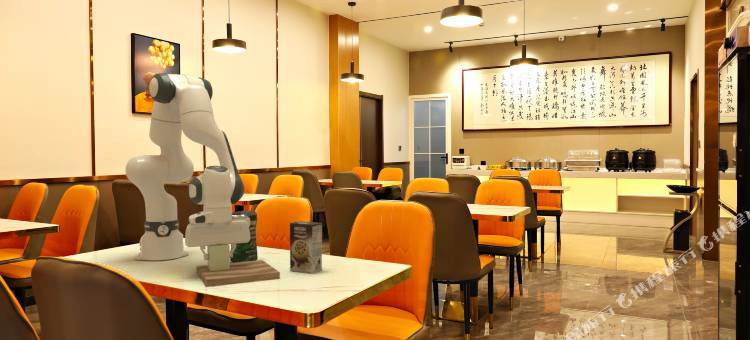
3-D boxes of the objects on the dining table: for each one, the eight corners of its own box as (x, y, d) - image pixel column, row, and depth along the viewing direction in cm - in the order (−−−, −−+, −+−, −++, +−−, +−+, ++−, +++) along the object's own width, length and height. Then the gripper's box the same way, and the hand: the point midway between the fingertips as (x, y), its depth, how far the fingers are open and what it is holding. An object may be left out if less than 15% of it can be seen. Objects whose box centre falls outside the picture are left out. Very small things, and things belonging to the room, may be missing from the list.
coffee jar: (242, 265, 184) (242, 212, 183) (226, 263, 188) (225, 211, 187) (261, 260, 192) (261, 210, 192) (246, 258, 196) (245, 209, 196)
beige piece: (207, 267, 171) (207, 243, 170) (226, 265, 173) (225, 241, 173) (210, 271, 165) (210, 245, 165) (229, 269, 168) (229, 244, 168)
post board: (196, 272, 173) (196, 248, 173) (262, 265, 183) (261, 242, 183) (206, 286, 153) (206, 259, 153) (279, 278, 163) (279, 252, 163)
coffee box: (289, 271, 173) (288, 222, 173) (300, 267, 179) (300, 220, 179) (311, 273, 169) (311, 224, 169) (322, 270, 175) (322, 222, 174)
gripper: (247, 213, 176) (248, 254, 177) (183, 216, 167) (184, 259, 168) (252, 215, 171) (252, 257, 171) (186, 218, 162) (186, 263, 162)
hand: (218, 258), depth 169 cm, fingers closed on beige piece, 6 cm apart
